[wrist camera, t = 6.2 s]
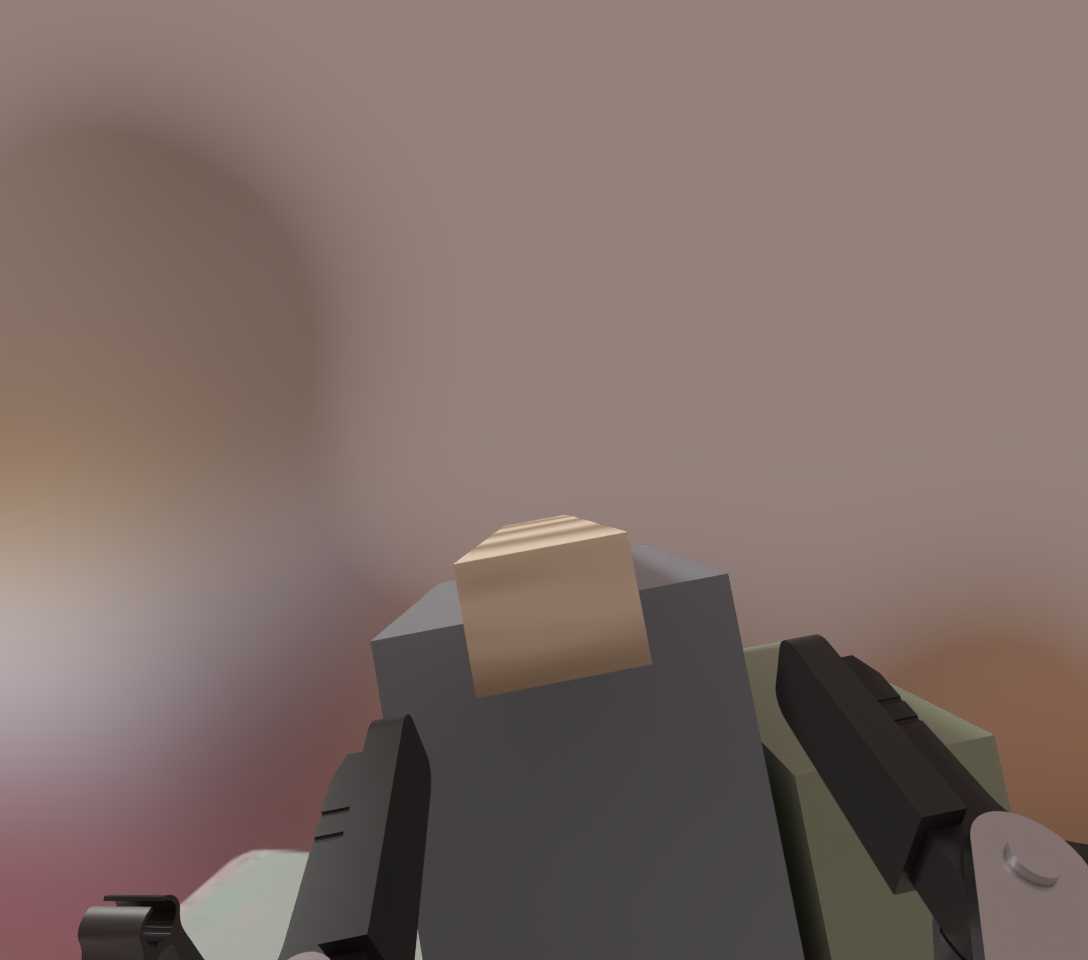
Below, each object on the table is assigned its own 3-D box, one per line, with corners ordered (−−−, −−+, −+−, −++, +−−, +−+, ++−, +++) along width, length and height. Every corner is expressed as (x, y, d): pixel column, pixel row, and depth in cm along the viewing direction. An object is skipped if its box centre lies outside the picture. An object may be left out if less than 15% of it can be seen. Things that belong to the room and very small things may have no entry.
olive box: (1139, 1396, 18) (994, 734, 19) (929, 1448, 18) (794, 775, 19) (874, 1006, 32) (799, 637, 33) (755, 1032, 32) (683, 660, 33)
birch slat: (652, 664, 11) (627, 531, 11) (476, 698, 11) (453, 564, 11) (575, 561, 31) (566, 514, 31) (512, 573, 31) (504, 526, 31)
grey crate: (811, 996, 18) (727, 573, 19) (442, 1077, 18) (370, 641, 19) (691, 784, 32) (645, 544, 33) (481, 827, 32) (439, 583, 33)
